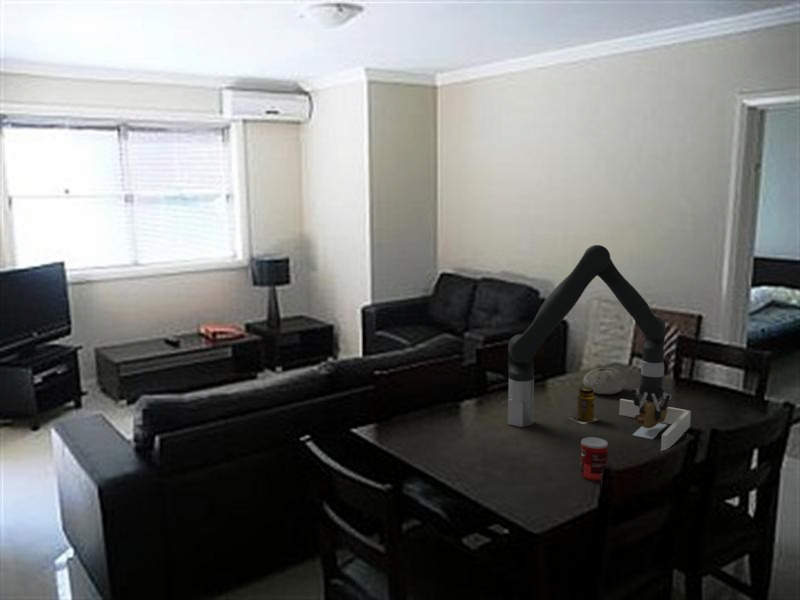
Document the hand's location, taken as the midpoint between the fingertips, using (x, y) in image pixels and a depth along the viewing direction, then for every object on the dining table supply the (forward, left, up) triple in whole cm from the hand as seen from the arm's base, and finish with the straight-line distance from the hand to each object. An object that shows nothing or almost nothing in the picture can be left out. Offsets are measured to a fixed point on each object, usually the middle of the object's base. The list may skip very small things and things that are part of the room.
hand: (650, 418), depth 247 cm
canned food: (-48, +2, -4) cm, 49 cm away
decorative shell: (+36, +30, -5) cm, 47 cm away
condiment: (-2, +24, -5) cm, 24 cm away
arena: (-3, +2, -4) cm, 6 cm away
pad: (0, 0, -4) cm, 4 cm away
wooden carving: (0, 0, -3) cm, 3 cm away
